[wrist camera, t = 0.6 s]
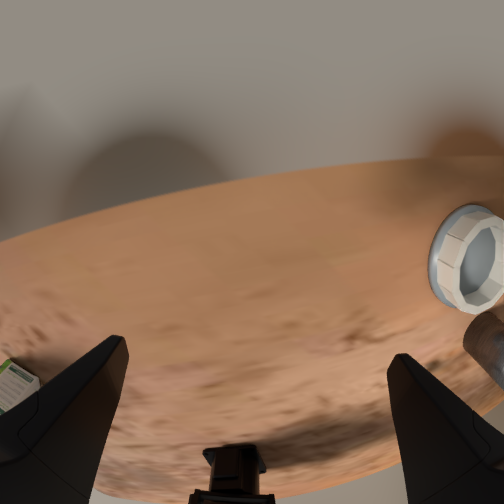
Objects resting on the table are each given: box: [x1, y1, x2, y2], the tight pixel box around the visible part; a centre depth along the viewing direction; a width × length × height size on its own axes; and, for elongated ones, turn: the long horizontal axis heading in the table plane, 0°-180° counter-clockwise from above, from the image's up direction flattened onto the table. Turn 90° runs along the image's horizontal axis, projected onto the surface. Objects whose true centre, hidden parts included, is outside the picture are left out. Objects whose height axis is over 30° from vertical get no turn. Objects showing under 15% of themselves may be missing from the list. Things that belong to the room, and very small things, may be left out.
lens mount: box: [428, 204, 504, 315], centre depth 21 cm, size 10×10×3 cm
